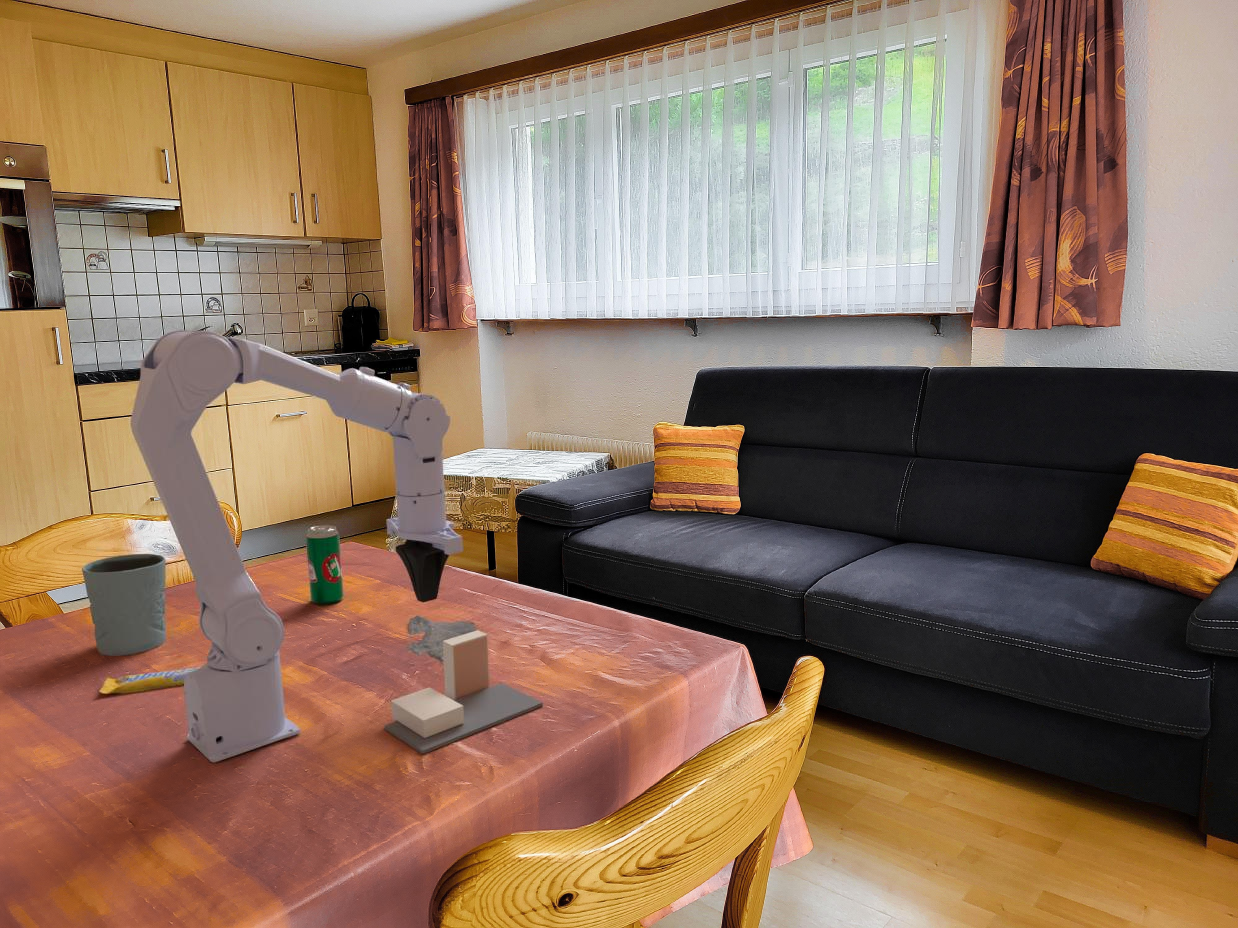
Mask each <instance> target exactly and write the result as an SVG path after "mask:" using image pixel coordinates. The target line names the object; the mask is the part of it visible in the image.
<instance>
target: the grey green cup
mask: <svg viewBox="0 0 1238 928" xmlns="http://www.w3.org/2000/svg"><path fill="white" fill-rule="evenodd" d="M166 562H167V561H166V558H165V556H163V555H160V554H155V553H134V554H133V553H132V554H123V555H116V556H115V555H114V556H110V557H105V558H100V559H96V560H95V561H91V562H89V563H87V564H85V565H83V567H82V568H81V572H82V575H83V579H84V584H85V585H84V586H85V590H86V595H87V599H88V600H89V604H90V605H89V611H90V615H91V620H92V624H93V625H94V638H95V642H96V648H97V652H98V653H99V654H101V655H103V656H107V655H108V656H109V657H121V656H122V655H123V656H129V655H137V654H140V653H139V652H141V653H144V652H147V650H148V651H151V650H153V649H156V648H158V647H159V645H160V646H162V644H164V643H165V641H166V639H167V637H166V636H167V633H166V631H167V630H166V629H167V626H166V623H167V622H166V618H165V615H166V595H165V594H164V593H165V590H166V564H167V563H166ZM157 646H158V647H157ZM155 647H156V648H155ZM150 649H151V650H150ZM108 656H107V657H108ZM123 656H122V657H123Z"/></svg>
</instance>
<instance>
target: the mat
mask: <svg viewBox="0 0 1238 928" xmlns="http://www.w3.org/2000/svg"><path fill="white" fill-rule="evenodd" d="M454 701H455V702H457V703H459V704H461V705H463V710H464V723H462V724H460V725H458V726H455V727H453V728H450V729H448V730H445V731H442V732H440V733H437V734H435V735H432V736H430V737H427V738H424V737H422V736H421V735H419V734H418V733H416V732H414V731H413V730H411V729H410V728H408V727H406V726H405V725H403V724H402V723H400V722H398V721H397V720H395V721H393V722H391V723H389V724H386V725H384V727H383V728H384V730H385V731H387V732H388V733H390V734H391V735H393V736H395V737H396V738H397V739H398V740H401V741H402V742H403V743H405V744H406V745H408V746H410V747H411V748H412V749H413V750H416V751H417V752H419V753H420V754H422V755H424V754H427V753H429V752H431V751H434V750H437V749H439V748H442V747H444V746H447V745H448V744H452V743H454V742H456V741H459V740H462V739H464V738H466V737H468V736H471V735H474V734H476V733H479V732H481V731H484V730H486V729H488V728H491V727H494V726H496V725H499V724H501V723H504V722H506V721H508V720H511V719H513V718H516V717H518V716H521V715H523V714H526V713H528V712H530V711H534V710H537V709H539V708H541V707H543V706H544V705H543V704H544V703H543V702H542V701H540V700H538V699H536V698H534V697H532V696H530V695H528V694H526V693H524V692H521V691H520V690H518V689H515V688H514V687H512V686H510V685H508V684H506V683H503V682H500V683H497V684H495V685H492V686H490V687H489V688H486V689H484V690H481V691H478V692H475V693H473V694H470V695H467V696H464V697H462V698H459V699H456V700H454Z"/></svg>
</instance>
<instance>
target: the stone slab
mask: <svg viewBox="0 0 1238 928" xmlns="http://www.w3.org/2000/svg"><path fill="white" fill-rule="evenodd" d="M408 621H409V622H408V631H407V632H408V634H409V635H411V636H412V635H416V634H417V636H418V635H420V634H423V633H424V635H423V636H422V638H421V640H420V641H418V643H417V640H416V639H414V641H413V642H411V643H410V644H408V645H407V647H406V648H405V651H411V653H413V654H415V655H417V656H419V657H421V656H422V654H423V653H426V654H427V655H428V656H429V657H430V658H434V659H435V660H437V661H439V663H440V664H441V665H444V656H443V641H444V640H448V639H451V638H454V637H457V636H461V635H464V634H467V633H470V632H474V631H476V624H475V623H474V622H472V621H470V622H469V621H464V620H463V621H462V620H460V621H455V622H453V621H452V622H448V621H440V622H435V621H432V620H430V619H428V618H426V617H423V616H421V615H416V616H414V617H409V620H408ZM409 639H410V637H408V636H407V637H406V641H408V640H409ZM410 666H413V667H414V666H416V665H415V664H414V663H411V664H410Z"/></svg>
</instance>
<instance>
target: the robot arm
mask: <svg viewBox="0 0 1238 928" xmlns="http://www.w3.org/2000/svg"><path fill="white" fill-rule="evenodd" d="M259 381H263V382H265V383H269V384H273V385H275V386H279V387H283V388H286V389H288V390H292V391H296V392H299V393H302V394H305V395H309V396H312V397H315V398H318V399H321V400H324V401H326V403H327V404H328V406H329V408H330V410H331V412H332V414H333V415H334V416H336V417H337V418H341V419H345V420H347V421H350V422H353V423H357V424H359V425H363V426H365V427H369V428H370V429H374V430H376V431H377V430H378V431H381V432H383V433H387V434H388V435H390V437H392V446H393V447H392V448H393V464H394V478H395V481H394V482H395V492H396V509H397V511H396V512H397V517H392V518H388V519H387V518H386V534H387V535H390V536H394V535H396V536H398V538H400V539H401V540H402V539H404V540H406V541H405V542H404V543H402V544H398V545H396V546H395V552H396V554H397V555H398V556H399V558H400V560H401V562H402V563H403V564H404V565H403V566H405V569H406V571H407V574H408V576H409V579H410V582H411V585H412V588H413V592H414V595H415V597H416V601H418V602H421V603H426V602H427V603H428V602H430V601H434V600H437V598H438V596H439V595H438V594H439V589H440V585H441V584H440V583H441V581H442V576H443V571H444V569H445V566H446V563H447V561H448V559H449V557H450V556H451V555H455V554H458V553H462V552H464V545H463V536H462V535H460V534H458V533H456V532H455V530H454V528H455V523H454V522H453V521H449V520H447V513H446V512H447V511H446V494H445V477H444V476H445V475H444V461H443V460H444V459H443V439H444V437H445V435H446V434H447V433H448V431H449V428H450V424H451V415H448V414H447V411H446V408H445V405H444V404H443V403H441V400H440V399H439V398H437V397H436V396H434V395H431V394H428V393H427V394H426V393H420V392H419V393H417V392H412V391H411V385H410V384H407V383H405V382H399V383H398V384H396V383H394V382H391V381H390V380H389V381H388V380H385V379H383V378H380V377H378V376H376V375H375V370H374V369H372V368H369V367H367V366H360V367H359V369H356V368H353V367H352V368H348V369H344V370H343V371H342V372H339V373H337V374H336V373H334V372H332V371H329V370H326V369H325V368H322V367H319V366H317V365H314V364H311V363H309V362H307V361H304V360H302V359H299V358H297V357H295V356H292V355H289V354H287V353H284V352H282V351H279V350H277V349H275V348H272V347H269V346H267V345H265V344H262V343H259V342H255V341H250V340H247V339H243V338H237V337H234V336H233V337H231V336H223V335H221V334H220V333H218V332H214V331H212V330H211V331H210V330H197V331H191V330H190V331H189V330H184V329H183V330H181V329H179V330H173V331H169V332H167V333H166V332H165V334H163V335H162V336H160V337H159V338H158V339H157V340H156V341H155V342H154V344H153V345H152V346H151V348H150V349H149V351H148V352H147V353H146V355H145V356H144V358H142V360H141V362H140V377H139V381H138V388H137V390H136V395H135V401H134V404H133V408H132V413H131V417H130V428H131V433H132V435H133V437H134V440H135V442H136V445H137V447H138V449H139V451H140V454H141V456H142V458H143V461H144V463H145V466H146V468H147V471H148V473H149V475H150V477H151V480H152V482H153V484H154V487H155V490H156V491H157V492H156V493H157V494H158V497H159V498H160V501H161V503H162V506H163V509H164V510H165V511H164V512H165V513H166V516H167V517H168V520H169V523H170V525H171V526H172V529H173V532H174V534H175V537H176V538H177V541H178V543H179V545H180V549H181V550H182V553H183V554H184V558H185V560H186V562H187V565H188V567H189V569H190V571H191V575H192V576H193V578H194V581H195V594H196V596H197V599H198V603H199V618H198V624H199V627H200V628H199V629H200V631H201V632H202V634H203V635H204V637H205V638H207V640H209V641H210V642H211V646H210V648H209V651H208V654H207V656H206V663H205V664H203V665H202V666H199V667H200V668H198V669H196V670H194V671H191V672H189V673H187V674H186V675H185V678H184V685H183V690H184V691H183V692H184V693H183V695H184V701H185V711H186V721H187V729H188V730H187V731H188V733H187V735H186V737H187V739H188V742H190V743H191V744H192V745H193V746H194V747H196V748H197V749H198V751H199V752H200V753H201V754H203V756H205V758H206V759H208V760H209V761H210V762H211V763H217V762H220V761H222V760H226V759H229V758H231V757H235V756H237V755H240V754H243V753H246V752H249V751H251V750H255V749H257V748H261V747H264V746H266V745H269V744H272V743H275V742H278V741H281V740H284V739H287V738H289V737H292V736H295V735H298V734H299V733H301V728H300V727H299V726H298V725H296V724H295V723H294V722H293V721H291V720H290V719H288V717H286V714H285V713H286V712H285V700H284V692H283V691H284V689H283V680H282V679H283V678H282V667H281V666H282V665H281V656H280V648H281V646H282V644H283V640H284V637H285V627H284V623H283V620H282V619H281V616H279V615H278V614H277V613H276V612H275V611H274V610H272V609H271V608H269V607H268V606H267V604H266V603H265V602H264V599H263V596H262V595H261V592H260V590H259V589H258V587H257V585H256V584H255V583H254V581H253V579H252V578H251V577H250V575H249V573H248V572H247V570H246V567H245V565H244V562H243V560H242V557H241V555H240V553H239V550H238V547H237V545H236V543H235V539H234V537H233V535H232V533H231V529H230V528H229V525H228V523H227V520H226V518H225V516H224V512H223V510H222V508H221V505H220V503H219V501H218V498H217V495H216V493H215V491H214V488H213V486H212V483H211V481H210V477H209V475H208V472H207V471H206V468H205V465H204V462H203V461H202V458H201V456H200V452H199V451H198V448H197V446H196V443H195V441H194V438H193V436H192V432H193V429H194V428H195V427H196V425H197V422H199V420H200V418H201V416H202V415H203V413H204V411H205V410H206V409H207V407H208V405H210V404H211V403H212V402H214V401H215V400H216V399H218V397H220V396H221V395H222V394H223V393H225V392H226V391H227V390H228V389H230V387H231V386H232V385H233V384H239V385H246V384H251V383H254V382H259Z"/></svg>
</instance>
